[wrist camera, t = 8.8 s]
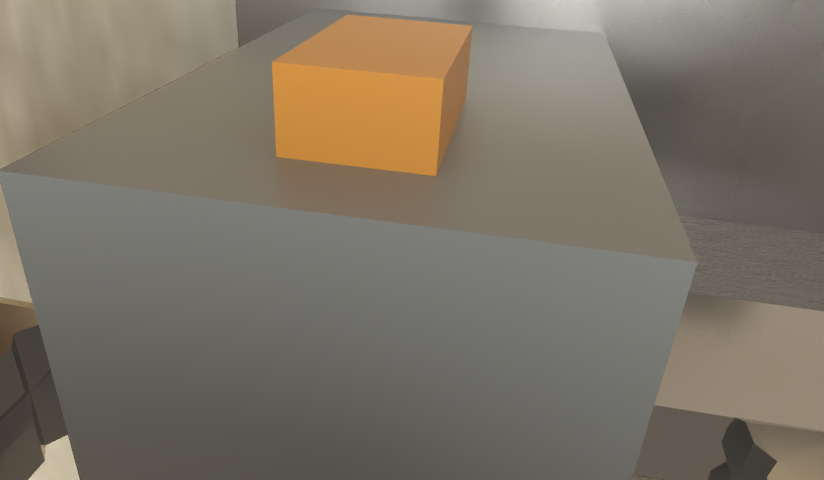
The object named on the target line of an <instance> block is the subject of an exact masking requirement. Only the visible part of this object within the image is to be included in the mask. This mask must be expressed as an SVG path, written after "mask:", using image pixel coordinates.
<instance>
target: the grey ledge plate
mask: <svg viewBox="0 0 824 480" xmlns="http://www.w3.org/2000/svg"><path fill="white" fill-rule="evenodd" d="M315 8H320V9H331V10H343V11H354V12H365V13H377V14H388V15H399V16H410V17H422V18H433V19H444V20H456V21H467V22H478V23H489V24H501V25H512V26H523V27H535V28H546V29H557V30H568V31H580V32H591V33H602V34H605V36H606V39H607V41H608V44H609V46H610V49H611V51H612V54H613V56H614V59H615V61H616V63H617V66H618V68H619V71H620V73H621V76H622V78H623V81H624V83H625V85H626V88H627V90H628V93H629V95H630V98H631V100H632V103H633V105H634V108H635V110H636V112H637V115H638V117H639V120H640V122H641V125H642V127H643V130H644V132H645V135H646V137H647V139H648V142H649V144H650V147H651V149H652V152H653V154H654V157H655V159H656V161H657V164H658V166H659V169H660V171H661V174H662V176H663V179H664V181H665V184H666V186H667V188H668V191H669V193H670V196H671V198H672V201H673V203H674V206H675V208H676V211H677V213H678V215H679V218H680V220H681V223H682V225H683V228H684V230H685V233H686V235H687V238H688V240H689V242H690V245H691V247H692V250H693V252H694V255H695V257H696V260H697V262H698V263H697V266H696V269H695V272H694V276H693V279H692V282H691V286H690V289H689V292H688V295H687V299H686V302H685V305H684V309H683V312H682V315H681V319H680V322H679V325H678V328H677V332H676V335H675V338H674V342H673V345H672V348H671V351H670V355H669V358H668V361H667V365H666V368H665V371H664V375H663V378H662V381H661V384H660V388H659V391H658V394H657V398H656V401H655V404H654V407H653V411H652V414H651V417H650V421H649V424H648V427H647V431H646V434H645V437H644V440H643V444H642V447H641V450H640V454H639V457H638V460H637V463H636V467H635V470H634V473H633V475H638V476H644V477H650V478H655V479H661V480H708V477H709V474H710V471H711V470H712V469H714V468H716V467H717V466H719V465H721V464H722V463H724V462H726V461H727V460H726V457H725V453H724V450H723V447H722V444H721V442H722V439H723V437H724V434H725V432H726V430H727V427H728V425H729V424H730V423H731V422H732V421H733V420H734V419H735V417H737V418H744V419H750V420H757V421H763V422H770V423H776V424H782V425H789V426H795V427H802V428H808V429H815V430H821V431H824V0H236V14H237V28H238V43H239V47H241V46H243V45H245V44H247V43H249V42H251V41H253V40H255V39H257V38H259V37H261V36H263V35H265V34H267V33H268V32H270V31H272V30H274V29H276V28H278V27H280V26H282V25H284V24H286V23H288V22H290V21H292V20H294V19H296V18H298V17H300V16H302V15H304V14H306V13H308V12H310V11H312V10H314V9H315Z"/></svg>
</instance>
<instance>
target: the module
mask: <svg viewBox="0 0 824 480" xmlns="http://www.w3.org/2000/svg"><path fill="white" fill-rule="evenodd" d="M0 181H1V185H2V189H3V192H4V196H5V200H6V204H7V207H8V211H9V215H10V219H11V222H12V226H13V230H14V234H15V237H16V241H17V245H18V249H19V253H20V256H21V260H22V264H23V268H24V271H25V275H26V279H27V283H28V286H29V290H30V294H31V298H32V301H33V305H34V309H35V313H36V316H37V320H38V324H39V328H40V331H41V335H42V339H43V343H44V346H45V350H46V354H47V358H48V361H49V365H50V369H51V373H52V376H53V380H54V384H55V388H56V391H57V395H58V399H59V403H60V407H61V410H62V414H63V418H64V422H65V425H66V429H67V433H68V437H69V440H70V444H71V448H72V452H73V455H74V459H75V463H76V467H77V470H78V474H79V478H80V480H632V477H633V473H634V470H635V467H636V463H637V460H638V457H639V454H640V450H641V447H642V444H643V440H644V437H645V434H646V431H647V427H648V424H649V421H650V417H651V414H652V411H653V407H654V404H655V401H656V398H657V394H658V391H659V388H660V384H661V381H662V378H663V375H664V371H665V368H666V365H667V361H668V358H669V355H670V351H671V348H672V345H673V342H674V338H675V335H676V332H677V328H678V325H679V322H680V319H681V315H682V312H683V309H684V305H685V302H686V299H687V295H688V292H689V289H690V286H691V282H692V279H693V276H694V272H695V269H696V266H697V263H698V262H697V260H696V257H695V255H694V252H693V250H692V247H691V245H690V242H689V240H688V238H687V235H686V233H685V230H684V228H683V225H682V223H681V220H680V218H679V215H678V213H677V211H676V208H675V206H674V203H673V201H672V198H671V196H670V193H669V191H668V188H667V186H666V184H665V181H664V179H663V176H662V174H661V171H660V169H659V166H658V164H657V161H656V159H655V157H654V154H653V152H652V149H651V147H650V144H649V142H648V139H647V137H646V135H645V132H644V130H643V127H642V125H641V122H640V120H639V117H638V115H637V112H636V110H635V108H634V105H633V103H632V100H631V98H630V95H629V93H628V90H627V88H626V85H625V83H624V81H623V78H622V76H621V73H620V71H619V68H618V66H617V63H616V61H615V59H614V56H613V54H612V51H611V49H610V46H609V44H608V41H607V39H606V36H605V34H602V33H591V32H580V31H568V30H557V29H546V28H535V27H523V26H512V25H501V24H489V23H478V22H467V21H456V20H444V19H433V18H422V17H410V16H399V15H388V14H377V13H365V12H354V11H343V10H331V9H320V8H315V9H314V10H312V11H310V12H308V13H306V14H304V15H302V16H300V17H298V18H296V19H294V20H292V21H290V22H288V23H286V24H284V25H282V26H280V27H278V28H276V29H274V30H272V31H270V32H268V33H267V34H265V35H263V36H261V37H259V38H257V39H255V40H253V41H251V42H249V43H247V44H245V45H243V46H241V47H239V48H237V49H235V50H233V51H231V52H229V53H227V54H225V55H223V56H221V57H220V58H218V59H216V60H214V61H212V62H210V63H208V64H206V65H204V66H202V67H200V68H198V69H196V70H194V71H192V72H190V73H188V74H186V75H184V76H182V77H180V78H178V79H176V80H174V81H172V82H171V83H169V84H167V85H165V86H163V87H161V88H159V89H157V90H155V91H153V92H151V93H149V94H147V95H145V96H143V97H141V98H139V99H137V100H135V101H133V102H131V103H129V104H127V105H125V106H124V107H122V108H120V109H118V110H116V111H114V112H112V113H110V114H108V115H106V116H104V117H102V118H100V119H98V120H96V121H94V122H92V123H90V124H88V125H86V126H84V127H82V128H80V129H78V130H76V131H75V132H73V133H71V134H69V135H67V136H65V137H63V138H61V139H59V140H57V141H55V142H53V143H51V144H49V145H47V146H45V147H43V148H41V149H39V150H37V151H35V152H33V153H31V154H29V155H28V156H26V157H24V158H22V159H20V160H18V161H16V162H14V163H12V164H10V165H8V166H6V167H4V168H2V169H0Z"/></svg>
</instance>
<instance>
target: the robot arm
mask: <svg viewBox="0 0 824 480" xmlns="http://www.w3.org/2000/svg"><path fill="white" fill-rule="evenodd" d="M66 435H68V433H67V429H66V425H65V422H64V418H63V414H62V410H61V407H60V403H59V399H58V395H57V391H56V388H55V384H54V380H53V376H52V373H51V369H50V365H49V361H48V358H47V354H46V350H45V346H44V343H43V339H42V335H41V331H40V328H39V324H38V320H37V316H36V313H35V309H34V305H33V303H29V302H24V301H18V300H13V299H7V298H2V297H0V480H28V479H29V478H30V477H31V476H32V474H33V473H34V472H35V471H36V470H37V469H38V468H39V467H40V465H41V464H42V463H43V462H44V461H45V445H47V444H49V443H51V442H53V441H55V440H57V439H59V438H61V437H63V436H66ZM721 444H722V447H723V450H724V453H725V457H726V460H727V461H726V462H724V463H722V464H721V465H719V466H717V467H716V468H714V469H712V470H711V471H710V474H709V477H708V480H824V431H821V430H815V429H808V428H802V427H795V426H789V425H782V424H776V423H770V422H763V421H757V420H750V419H744V418H737V417H735V419H734V420H733V421H732V422H731V423H730V424H729V425H728V427H727V430H726V432H725V434H724V437H723V439H722V442H721Z"/></svg>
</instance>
